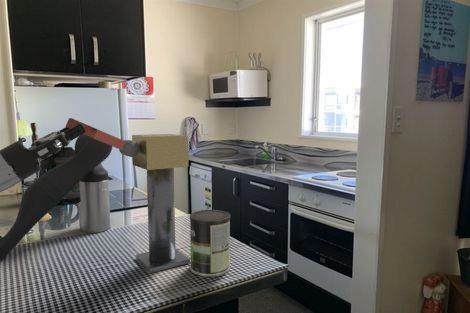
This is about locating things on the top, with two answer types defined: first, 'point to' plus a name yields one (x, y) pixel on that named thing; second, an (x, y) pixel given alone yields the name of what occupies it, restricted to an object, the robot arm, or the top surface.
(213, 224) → the coffee can
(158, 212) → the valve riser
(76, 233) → the top surface
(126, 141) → the lever
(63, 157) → the beer stein
